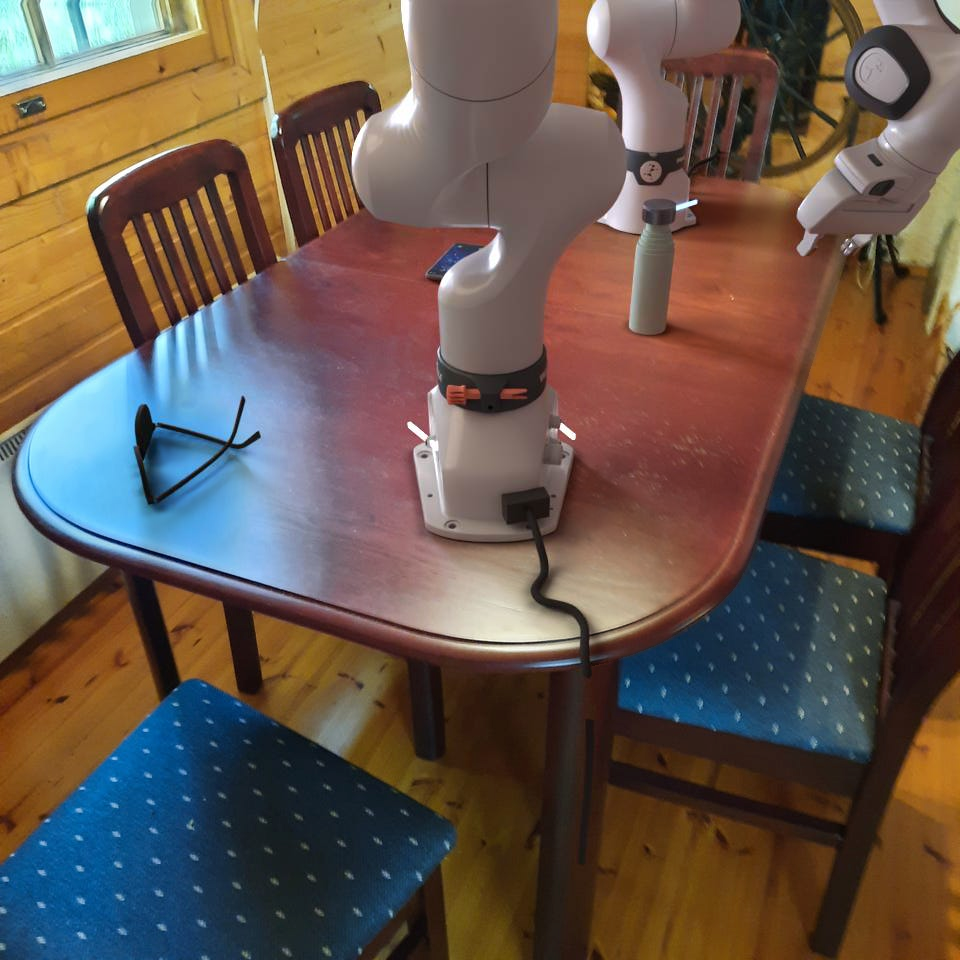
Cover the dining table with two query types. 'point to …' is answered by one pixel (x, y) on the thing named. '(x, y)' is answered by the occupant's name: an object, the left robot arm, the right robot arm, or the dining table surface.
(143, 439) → the sunglasses
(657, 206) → the cap
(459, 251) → the smartphone
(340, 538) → the dining table surface
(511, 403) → the left robot arm
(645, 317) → the bottle
